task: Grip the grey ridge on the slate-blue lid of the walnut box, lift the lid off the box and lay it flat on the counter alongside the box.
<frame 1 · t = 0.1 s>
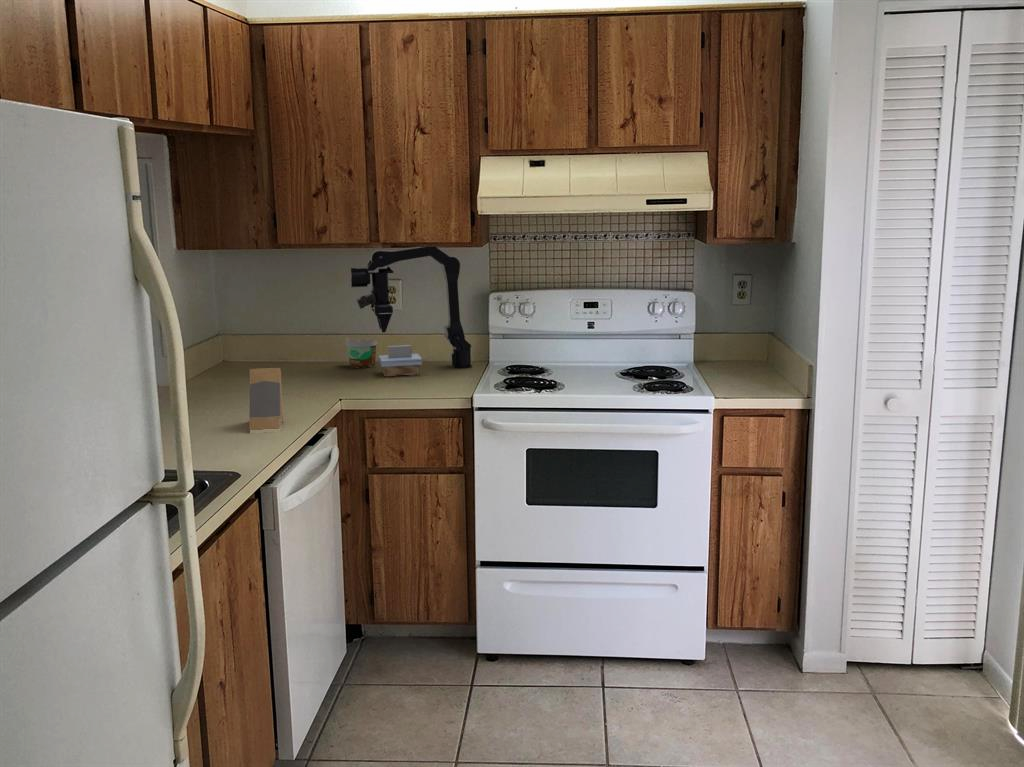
hand: (382, 330, 327), 15 cm above the countertop, tool pointing down, fingers open, 9 cm apart
lid: (400, 359, 324), point 5 cm above the countertop, touching box
box: (400, 373, 325), on the countertop
sandwich container: (266, 427, 255), on the countertop
food container: (359, 367, 338), on the countertop
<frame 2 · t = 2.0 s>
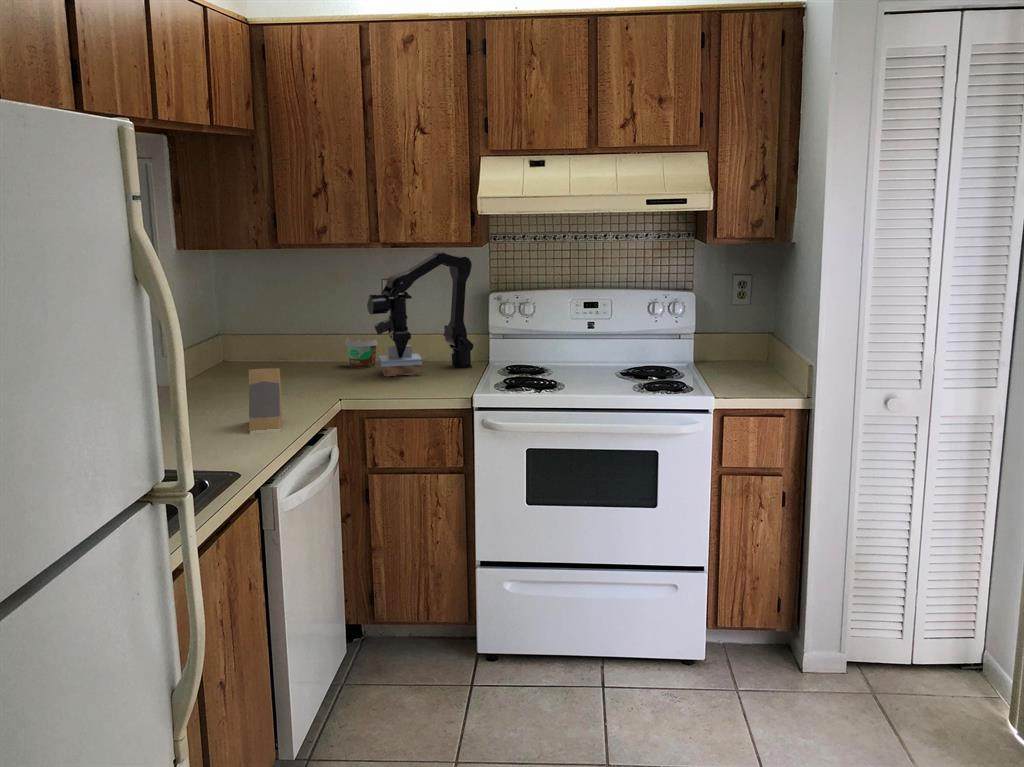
hand: (400, 356, 324), 6 cm above the countertop, tool pointing down, fingers closed on lid, 2 cm apart
lid: (400, 359, 324), point 5 cm above the countertop, touching box, gripper
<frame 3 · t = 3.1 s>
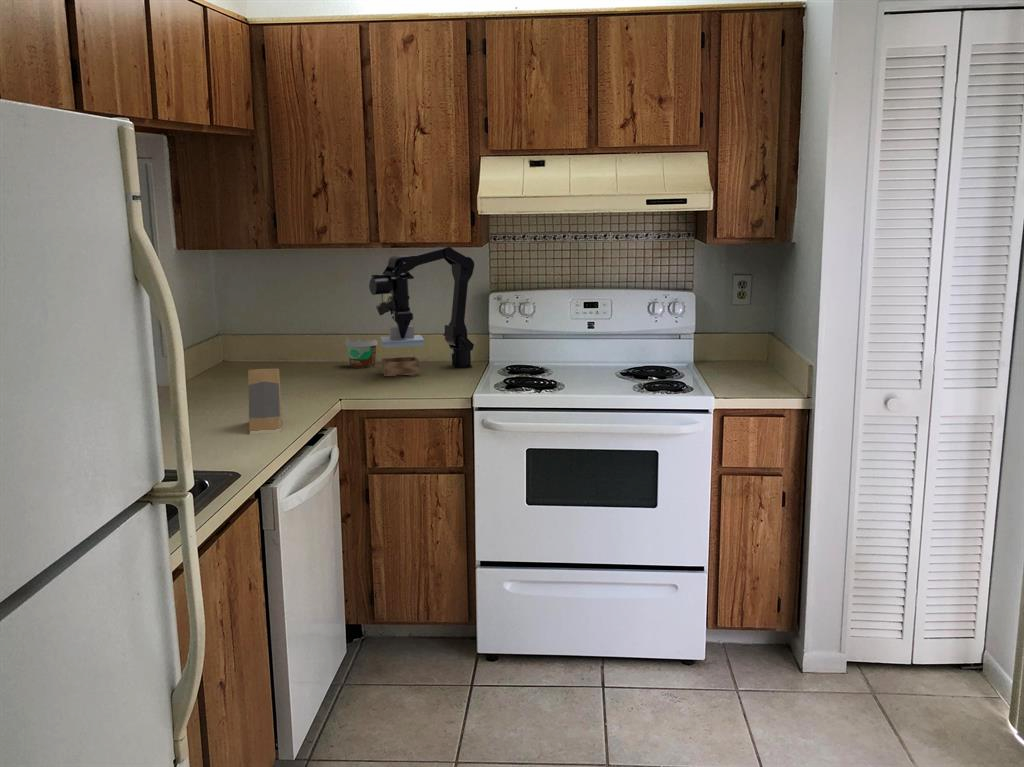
hand: (402, 337, 321), 13 cm above the countertop, tool pointing down, fingers closed on lid, 2 cm apart
lid: (402, 340, 322), point 12 cm above the countertop, touching gripper
everything else where it was.
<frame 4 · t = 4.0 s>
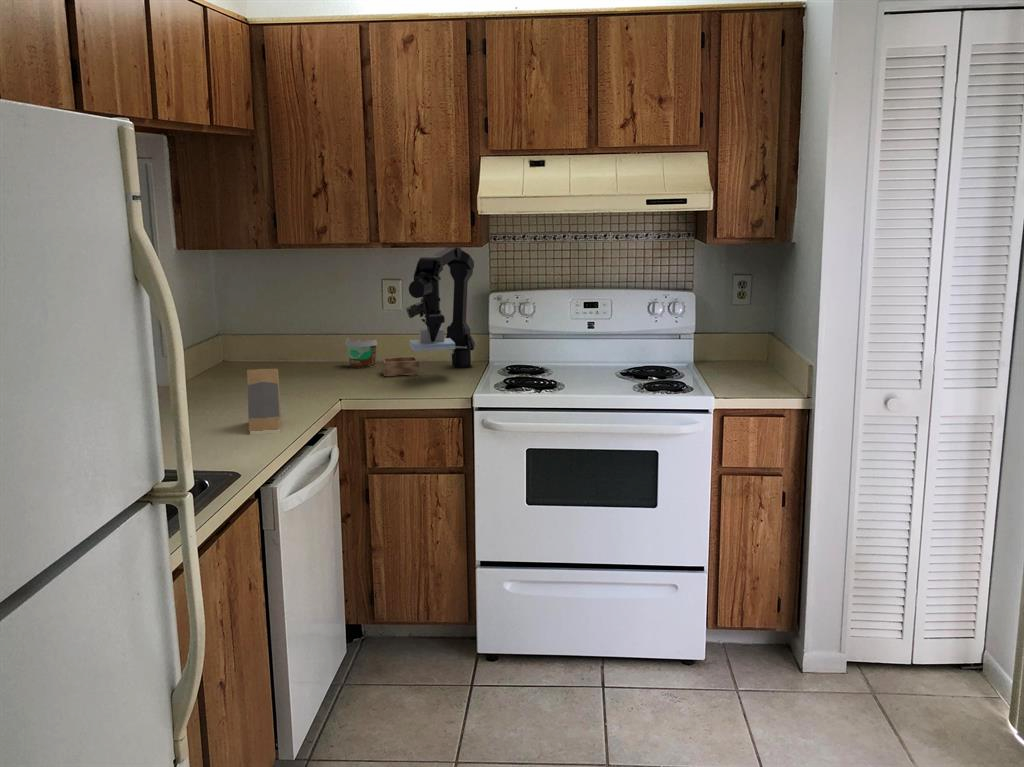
hand: (432, 340, 313), 13 cm above the countertop, tool pointing down, fingers closed on lid, 2 cm apart
lid: (432, 344, 313), point 12 cm above the countertop, touching gripper
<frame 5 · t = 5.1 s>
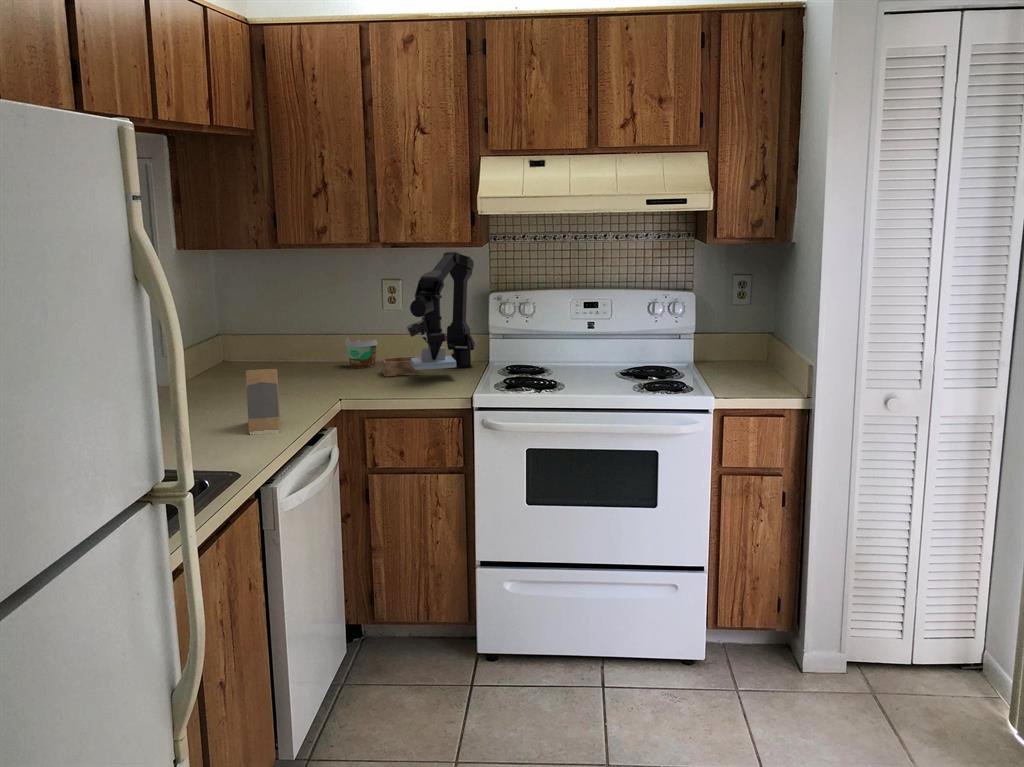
hand: (433, 358, 314), 7 cm above the countertop, tool pointing down, fingers closed on lid, 2 cm apart
lid: (433, 362, 314), point 6 cm above the countertop, touching gripper
when the fingers open (3 cm above the countertop, at t = 6.0 s): lid stays where it is, point 1 cm above the countertop.
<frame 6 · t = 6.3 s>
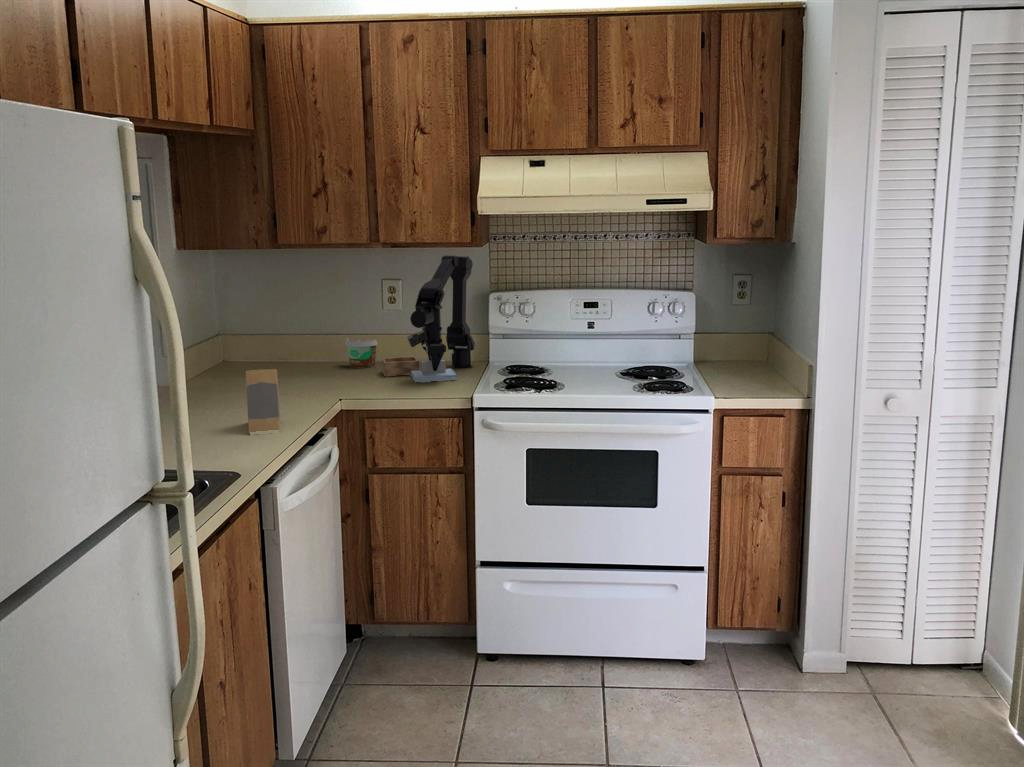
hand: (433, 369, 315), 3 cm above the countertop, tool pointing down, fingers open, 6 cm apart
lid: (433, 374, 315), point 1 cm above the countertop
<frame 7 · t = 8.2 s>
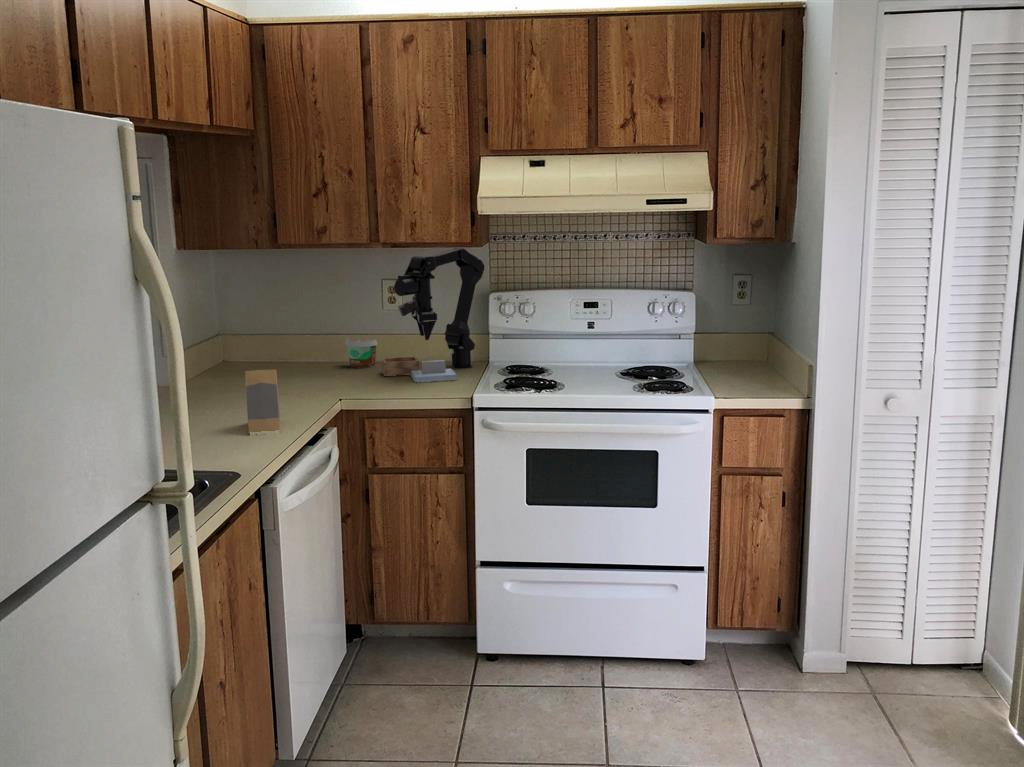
hand: (424, 337, 321), 13 cm above the countertop, tool pointing down, fingers open, 9 cm apart
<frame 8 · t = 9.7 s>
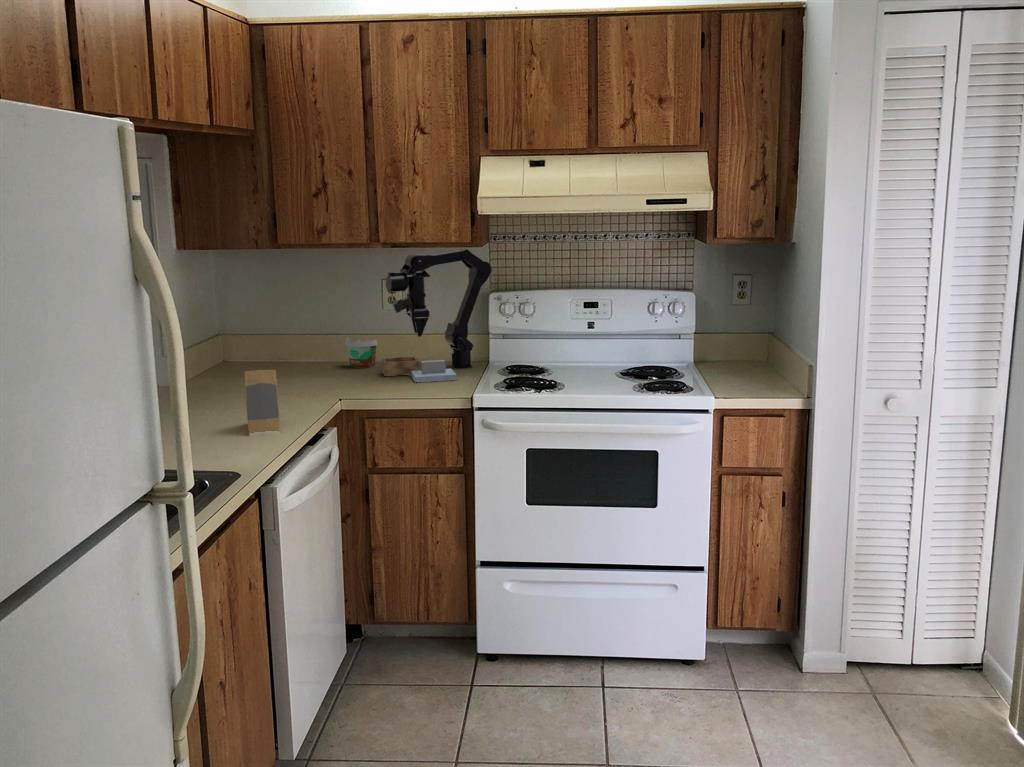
hand: (418, 334, 327), 13 cm above the countertop, tool pointing down, fingers open, 9 cm apart
at the end: lid inside the target area (0.1 cm from its centre), point 1.2 cm above the countertop; lid tilted 0°; lid touching countertop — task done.
